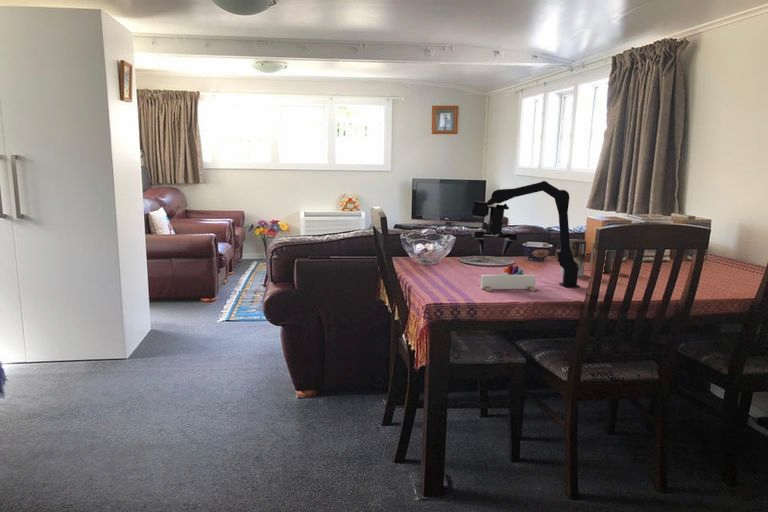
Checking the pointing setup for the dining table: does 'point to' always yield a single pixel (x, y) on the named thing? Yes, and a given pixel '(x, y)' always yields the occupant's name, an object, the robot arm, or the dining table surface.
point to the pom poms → (513, 270)
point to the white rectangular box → (508, 282)
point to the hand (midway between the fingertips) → (492, 254)
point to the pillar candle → (607, 262)
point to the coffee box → (578, 254)
